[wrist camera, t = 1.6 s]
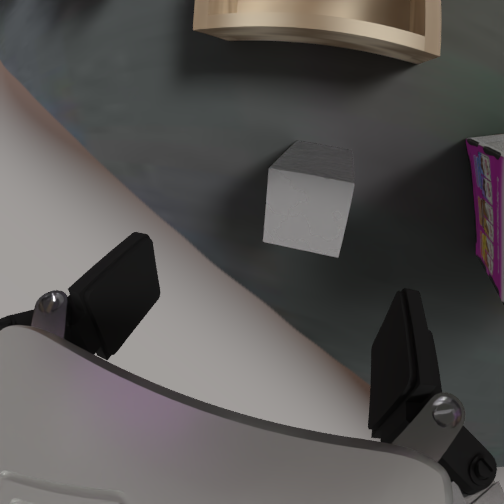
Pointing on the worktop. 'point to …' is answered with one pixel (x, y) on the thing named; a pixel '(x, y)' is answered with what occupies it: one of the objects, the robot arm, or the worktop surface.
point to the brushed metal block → (309, 198)
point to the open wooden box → (330, 24)
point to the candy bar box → (489, 204)
